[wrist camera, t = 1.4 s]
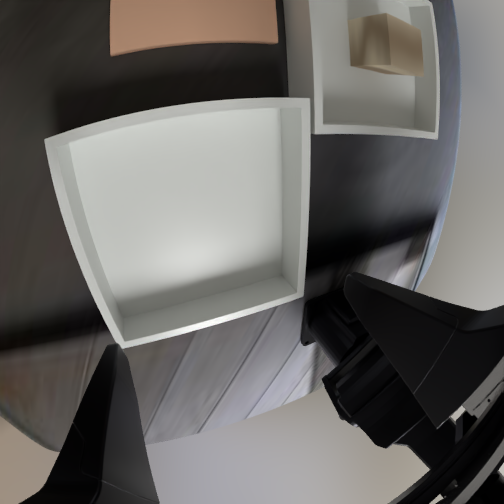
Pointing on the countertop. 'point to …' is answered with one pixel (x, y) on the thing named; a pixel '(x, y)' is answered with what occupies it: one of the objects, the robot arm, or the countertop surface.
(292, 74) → the tray
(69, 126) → the countertop surface
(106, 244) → the tray
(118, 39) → the tile
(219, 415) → the countertop surface
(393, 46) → the beech cube
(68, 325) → the countertop surface
